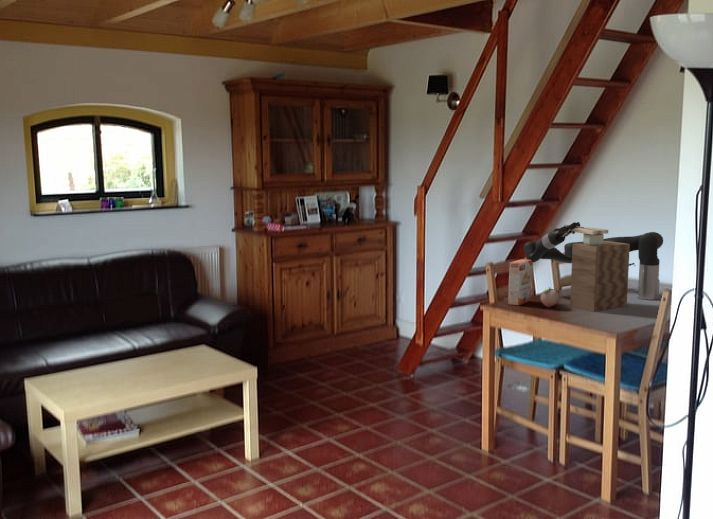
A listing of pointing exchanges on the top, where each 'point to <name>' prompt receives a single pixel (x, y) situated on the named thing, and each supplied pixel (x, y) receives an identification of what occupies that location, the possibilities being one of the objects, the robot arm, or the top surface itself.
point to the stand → (599, 276)
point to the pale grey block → (593, 239)
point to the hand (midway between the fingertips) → (577, 224)
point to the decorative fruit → (549, 297)
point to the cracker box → (519, 282)
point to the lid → (589, 230)
